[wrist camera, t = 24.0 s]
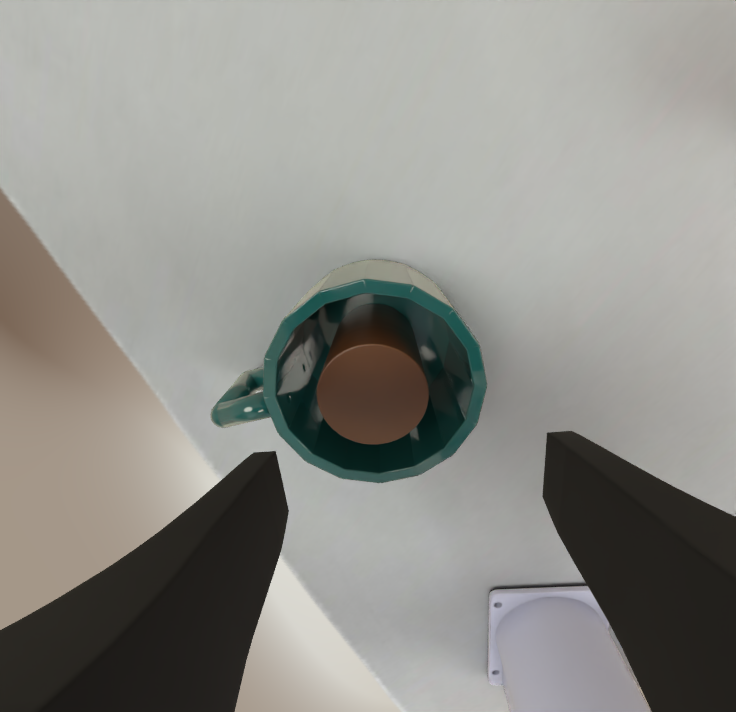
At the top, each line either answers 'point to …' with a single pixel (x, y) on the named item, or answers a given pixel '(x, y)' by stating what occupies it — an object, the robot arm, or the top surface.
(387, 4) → the top surface
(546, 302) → the top surface
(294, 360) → the mug
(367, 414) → the walnut peg
